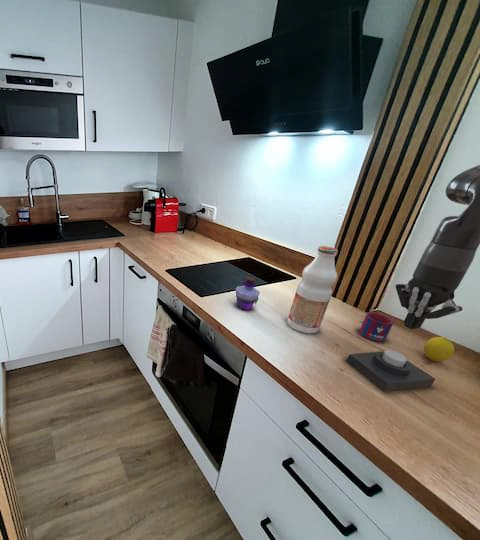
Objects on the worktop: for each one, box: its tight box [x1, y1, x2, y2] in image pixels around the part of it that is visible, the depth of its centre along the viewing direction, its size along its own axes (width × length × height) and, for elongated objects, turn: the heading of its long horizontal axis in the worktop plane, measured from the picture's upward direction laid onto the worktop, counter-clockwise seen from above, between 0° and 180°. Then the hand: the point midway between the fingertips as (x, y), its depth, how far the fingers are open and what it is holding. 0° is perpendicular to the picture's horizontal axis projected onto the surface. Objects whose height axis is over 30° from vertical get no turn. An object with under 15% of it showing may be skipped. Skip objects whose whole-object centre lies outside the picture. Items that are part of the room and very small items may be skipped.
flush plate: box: [346, 350, 436, 393], centre depth 76 cm, size 14×11×4 cm
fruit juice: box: [286, 245, 339, 334], centre depth 92 cm, size 9×9×28 cm
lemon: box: [423, 336, 455, 362], centre depth 81 cm, size 6×6×8 cm
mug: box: [358, 310, 395, 343], centre depth 93 cm, size 7×10×7 cm
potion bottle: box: [235, 276, 261, 312], centre depth 106 cm, size 9×9×12 cm
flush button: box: [382, 349, 408, 367], centre depth 75 cm, size 4×4×2 cm
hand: (410, 327), depth 71 cm, fingers closed
